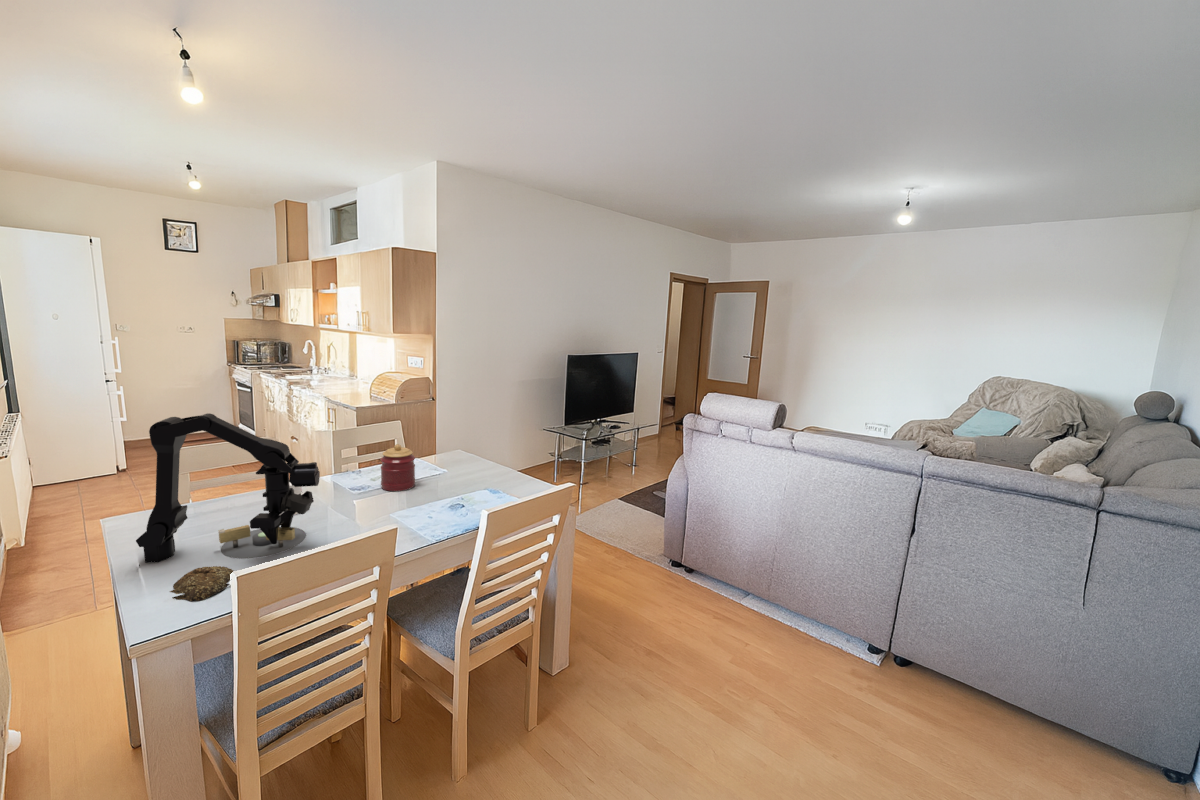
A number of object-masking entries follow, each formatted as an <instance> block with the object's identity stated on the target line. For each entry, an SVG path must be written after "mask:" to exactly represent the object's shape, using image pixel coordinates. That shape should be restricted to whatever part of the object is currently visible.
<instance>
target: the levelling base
mask: <svg viewBox="0 0 1200 800" xmlns="http://www.w3.org/2000/svg"><path fill="white" fill-rule="evenodd" d="M279 527H280V528H281V526H279ZM290 528H295V538H294V539H293V540H283V545H284V546H283V547H281V548H279V544H278V540H277V543H276V544H272V543H271V542H270V540H266V535H265V534H264V533H263V531H262V530H261V529H252V530H250V537H246V538H242V539H238V547H237V548H233V541H229V542H225V543H222V545H221V546H220V553H221V554H222V555H223V556H225V557H227V558H231V559H239V560H240V559H241V560H246V559H247V560H248V559H249V560H250V559H257V558H258V559H259V558H264V557H265V558H266V557H270V556H274V555H278V554H281V553H284V552H286V551H288V550H289V551H290V550H291V549H294V548H296V547H297V546H299V545H300V544H302V543H303V542H304V541H305V540H306V538H307V533H306V531H304V530H303V529H301V528H299V527H295V526H290Z"/></svg>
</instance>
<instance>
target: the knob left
mask: <svg viewBox="0 0 1200 800" xmlns="http://www.w3.org/2000/svg"><path fill="white" fill-rule="evenodd" d="M250 531H251V528H250V524H245V525H241V526H236V527H233V528H228V529H224V528H222V529H218V531H217V532H218V541H219V543H220V544H224V543H226V542H229V541H233V548H237V547H238V539H242V538H246V537H250Z"/></svg>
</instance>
